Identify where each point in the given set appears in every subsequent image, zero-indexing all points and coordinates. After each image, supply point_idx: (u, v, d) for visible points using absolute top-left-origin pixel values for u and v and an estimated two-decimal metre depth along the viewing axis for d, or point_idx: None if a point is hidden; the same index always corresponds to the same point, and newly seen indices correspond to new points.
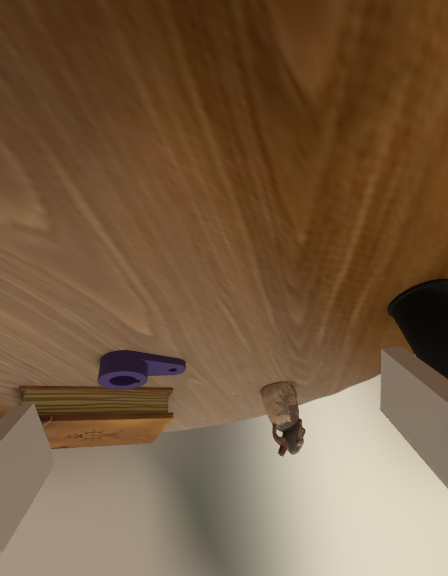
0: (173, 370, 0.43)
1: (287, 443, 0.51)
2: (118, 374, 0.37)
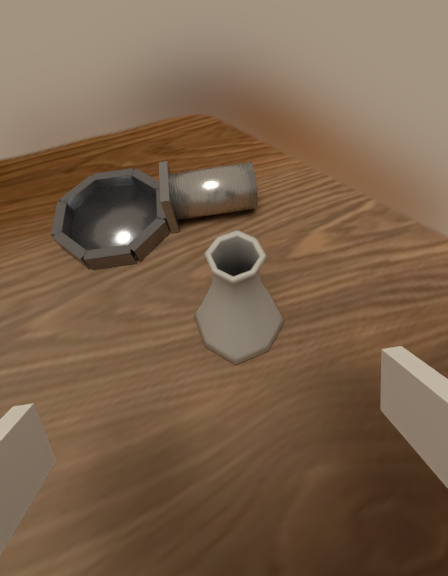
0: None
1: None
2: None
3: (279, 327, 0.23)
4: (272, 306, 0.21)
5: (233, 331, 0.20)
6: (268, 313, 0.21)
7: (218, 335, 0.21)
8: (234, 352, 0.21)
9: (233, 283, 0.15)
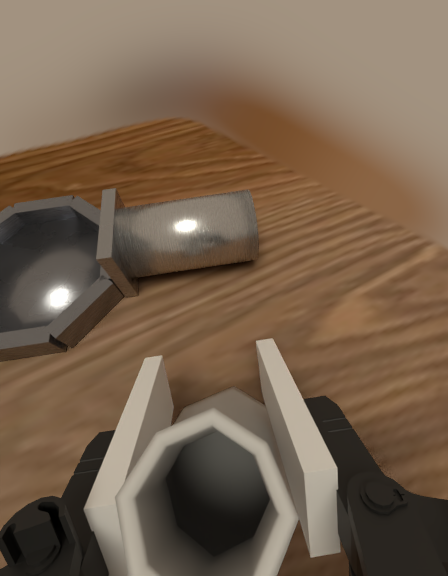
0: None
1: None
2: None
3: None
4: None
5: None
6: None
7: None
8: None
9: None
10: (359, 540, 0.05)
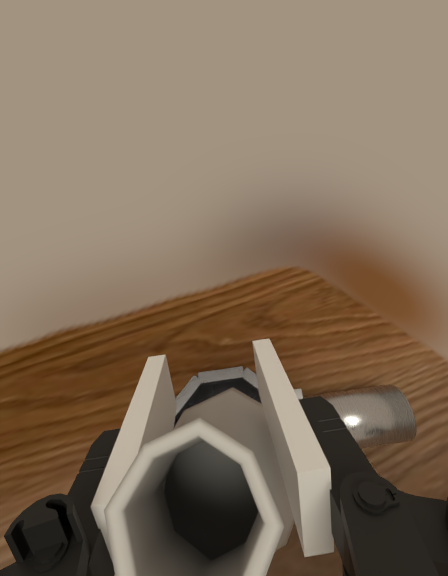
0: None
1: None
2: None
3: None
4: None
5: None
6: (284, 503, 0.11)
7: None
8: None
9: None
10: (351, 540, 0.05)
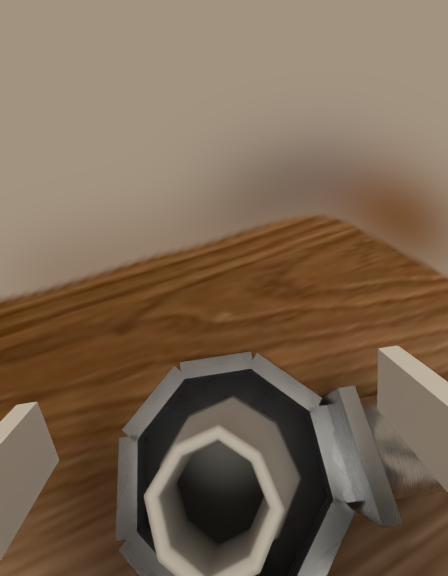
0: None
1: None
2: None
3: (295, 490, 0.15)
4: (285, 483, 0.12)
5: None
6: None
7: None
8: None
9: None
10: None
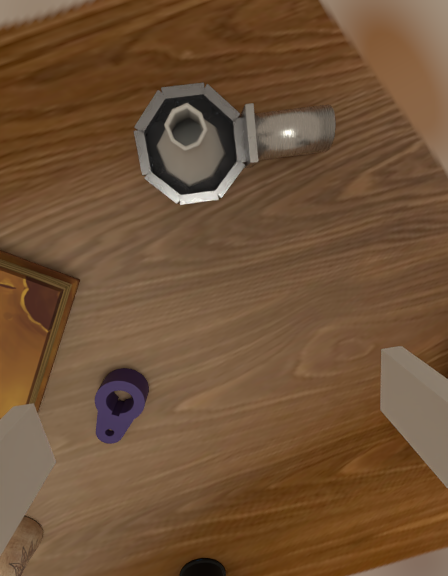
0: (105, 432, 0.41)
1: None
2: (138, 400, 0.37)
3: (221, 158, 0.32)
4: (215, 148, 0.29)
5: (187, 169, 0.29)
6: (212, 154, 0.29)
7: (176, 169, 0.30)
8: (188, 180, 0.31)
9: (185, 151, 0.23)
10: None
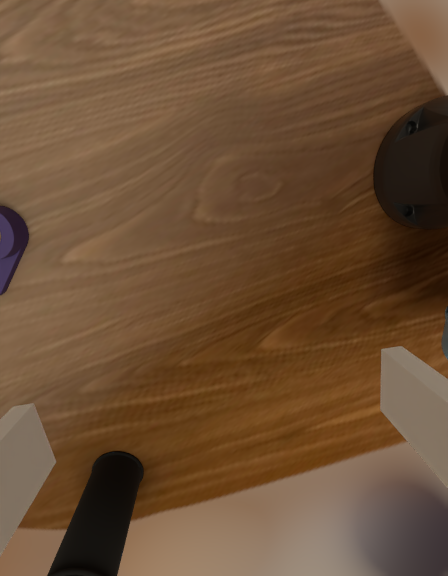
0: None
1: None
2: (6, 233, 0.33)
3: None
4: None
5: None
6: None
7: None
8: None
9: None
10: None
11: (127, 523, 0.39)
